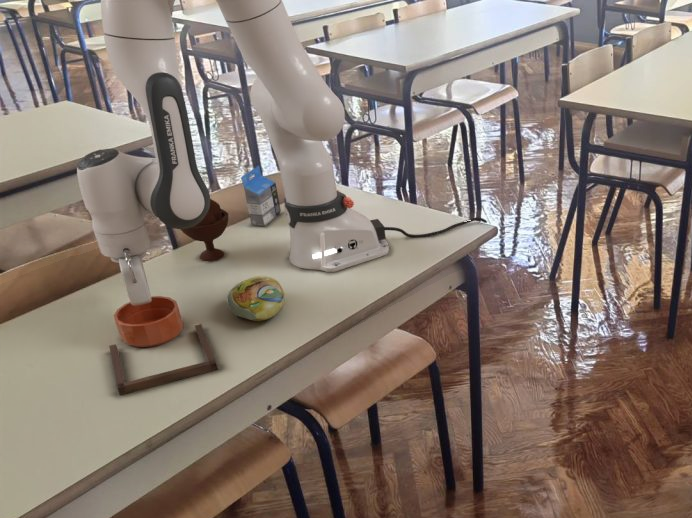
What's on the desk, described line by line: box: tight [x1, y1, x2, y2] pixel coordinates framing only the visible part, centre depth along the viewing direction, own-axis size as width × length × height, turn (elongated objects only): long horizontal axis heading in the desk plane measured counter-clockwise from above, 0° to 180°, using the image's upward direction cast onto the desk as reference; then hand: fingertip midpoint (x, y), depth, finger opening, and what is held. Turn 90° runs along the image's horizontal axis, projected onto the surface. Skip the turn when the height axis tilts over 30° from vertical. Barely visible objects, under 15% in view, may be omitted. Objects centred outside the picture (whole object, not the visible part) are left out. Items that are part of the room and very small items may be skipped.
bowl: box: [113, 295, 185, 348], centre depth 145 cm, size 11×11×5 cm
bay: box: [108, 323, 219, 396], centre depth 138 cm, size 16×15×2 cm
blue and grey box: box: [240, 165, 282, 227], centre depth 187 cm, size 9×4×12 cm, turn 167°
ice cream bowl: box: [179, 198, 230, 263], centre depth 169 cm, size 11×11×15 cm
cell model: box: [227, 275, 285, 322], centre depth 152 cm, size 11×8×15 cm
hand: (144, 304), depth 149 cm, fingers closed
